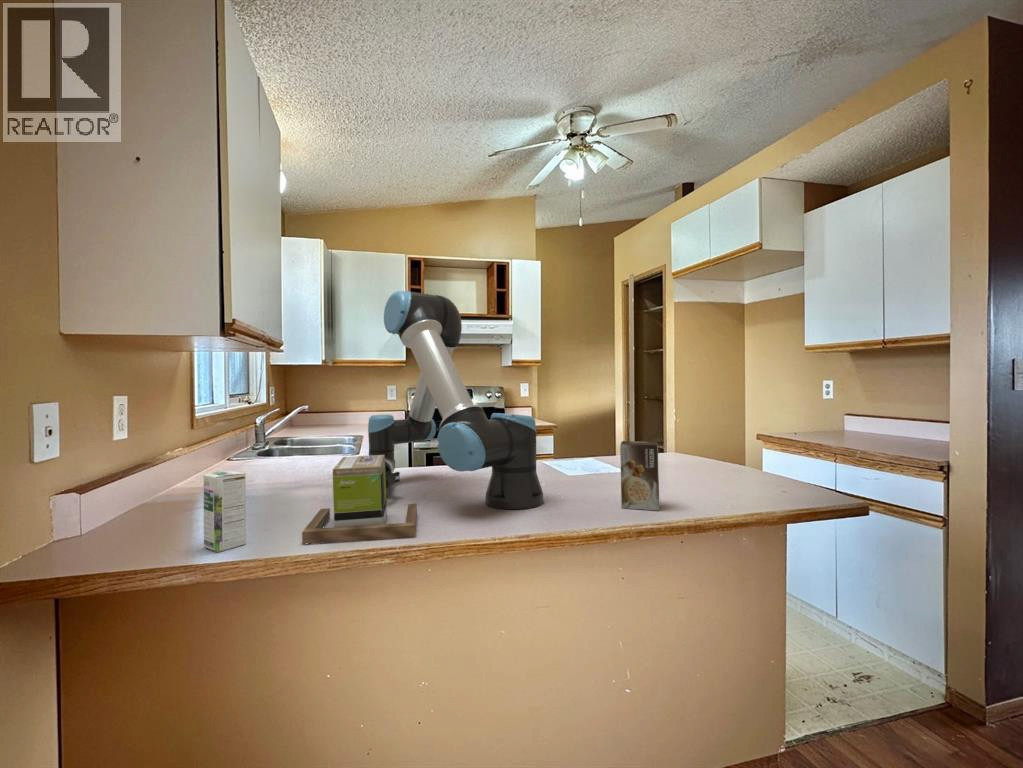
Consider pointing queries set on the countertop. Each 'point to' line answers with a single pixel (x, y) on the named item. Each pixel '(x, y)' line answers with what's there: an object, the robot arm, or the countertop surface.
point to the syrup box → (224, 510)
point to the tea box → (360, 491)
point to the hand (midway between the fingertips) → (368, 491)
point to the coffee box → (639, 475)
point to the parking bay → (358, 529)
